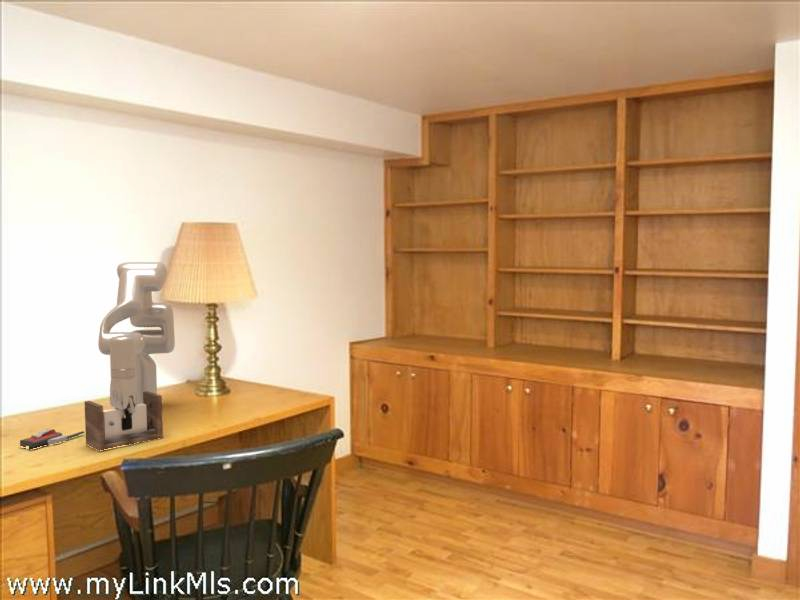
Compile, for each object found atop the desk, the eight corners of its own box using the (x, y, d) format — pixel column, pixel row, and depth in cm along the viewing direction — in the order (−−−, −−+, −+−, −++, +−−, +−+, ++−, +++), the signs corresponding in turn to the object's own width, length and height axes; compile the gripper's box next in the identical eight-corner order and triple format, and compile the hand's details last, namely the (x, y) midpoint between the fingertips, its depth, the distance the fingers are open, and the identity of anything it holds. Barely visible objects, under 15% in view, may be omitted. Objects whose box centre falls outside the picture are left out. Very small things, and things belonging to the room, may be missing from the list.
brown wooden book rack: (148, 432, 231) (147, 391, 230) (162, 438, 224) (161, 395, 223) (86, 445, 216) (84, 401, 214) (99, 452, 209) (97, 406, 208)
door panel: (143, 429, 226) (142, 403, 225) (148, 431, 223) (147, 405, 223) (101, 438, 215) (100, 410, 215) (106, 440, 213) (105, 412, 212)
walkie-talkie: (35, 453, 209) (86, 436, 227) (34, 439, 208) (86, 423, 227) (15, 450, 212) (67, 433, 231) (14, 436, 212) (66, 421, 230)
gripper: (100, 371, 221) (102, 426, 222) (123, 378, 210) (124, 435, 211) (123, 368, 226) (124, 421, 228) (145, 375, 215) (147, 430, 217)
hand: (124, 428), depth 220 cm, fingers closed on door panel, 2 cm apart
